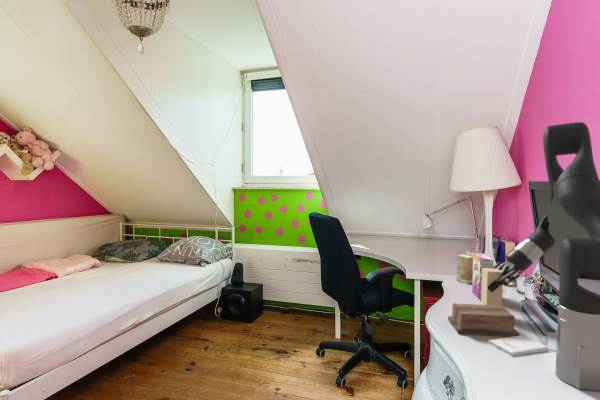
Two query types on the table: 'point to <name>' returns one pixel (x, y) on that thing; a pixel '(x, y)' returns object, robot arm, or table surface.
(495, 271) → the tan carton
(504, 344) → the external hard drive
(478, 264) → the candy bar box
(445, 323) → the table surface
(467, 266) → the skincare box
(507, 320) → the podium
